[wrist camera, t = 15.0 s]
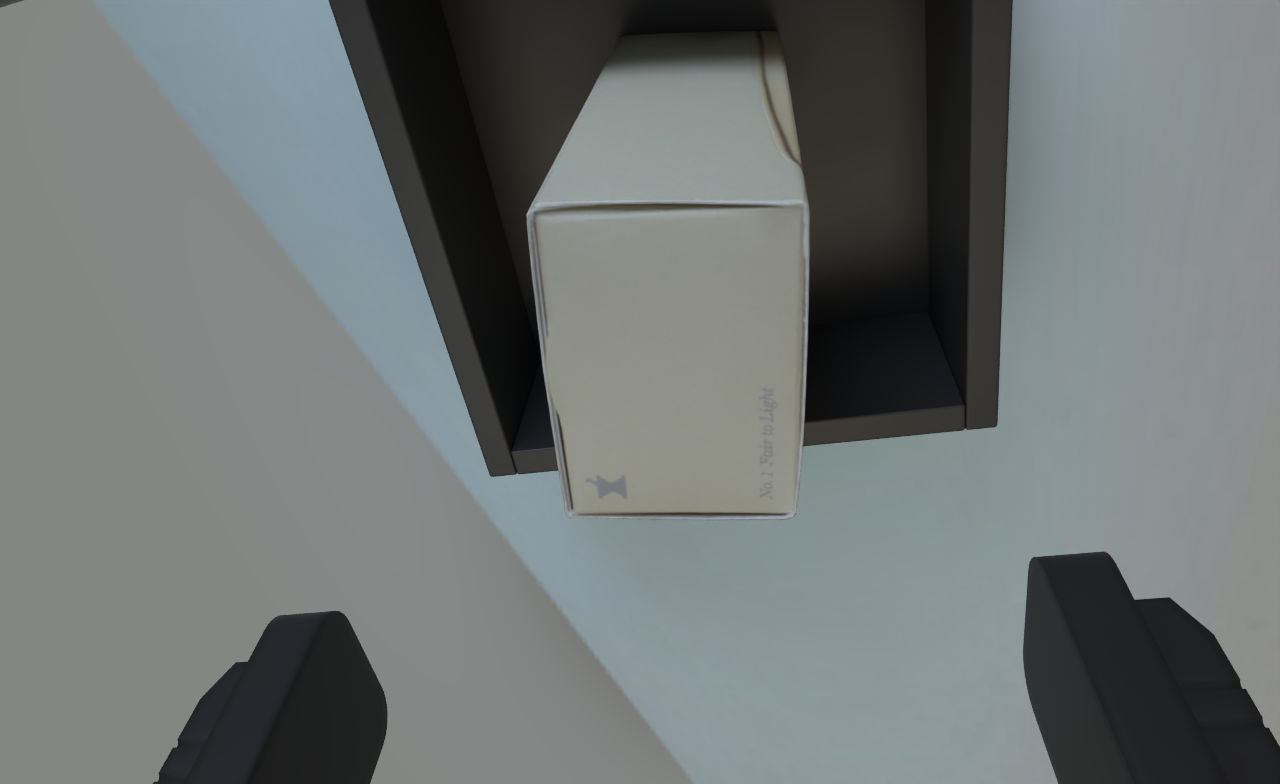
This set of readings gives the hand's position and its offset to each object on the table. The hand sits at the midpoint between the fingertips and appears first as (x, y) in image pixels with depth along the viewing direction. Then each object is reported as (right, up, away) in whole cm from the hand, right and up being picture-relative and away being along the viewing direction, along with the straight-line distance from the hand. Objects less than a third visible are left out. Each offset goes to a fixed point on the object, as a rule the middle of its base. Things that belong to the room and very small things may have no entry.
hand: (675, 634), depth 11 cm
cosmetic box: (+1, +10, +14) cm, 17 cm away
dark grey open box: (+1, +10, +15) cm, 18 cm away
